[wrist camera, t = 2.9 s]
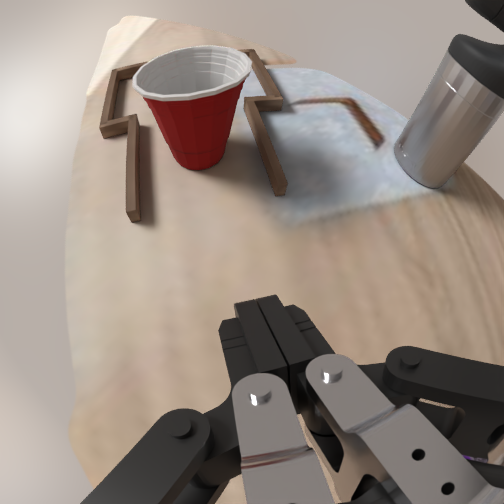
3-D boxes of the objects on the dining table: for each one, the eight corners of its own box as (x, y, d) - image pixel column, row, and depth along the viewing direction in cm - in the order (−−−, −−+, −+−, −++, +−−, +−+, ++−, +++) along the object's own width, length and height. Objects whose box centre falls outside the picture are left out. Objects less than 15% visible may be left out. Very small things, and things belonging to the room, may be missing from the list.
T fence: (252, 58, 42) (253, 49, 41) (318, 190, 31) (323, 179, 29) (114, 79, 38) (112, 69, 37) (96, 230, 27) (89, 220, 25)
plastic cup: (198, 111, 35) (193, 33, 24) (263, 147, 33) (277, 61, 22) (134, 158, 31) (108, 75, 20) (198, 205, 29) (187, 112, 18)
